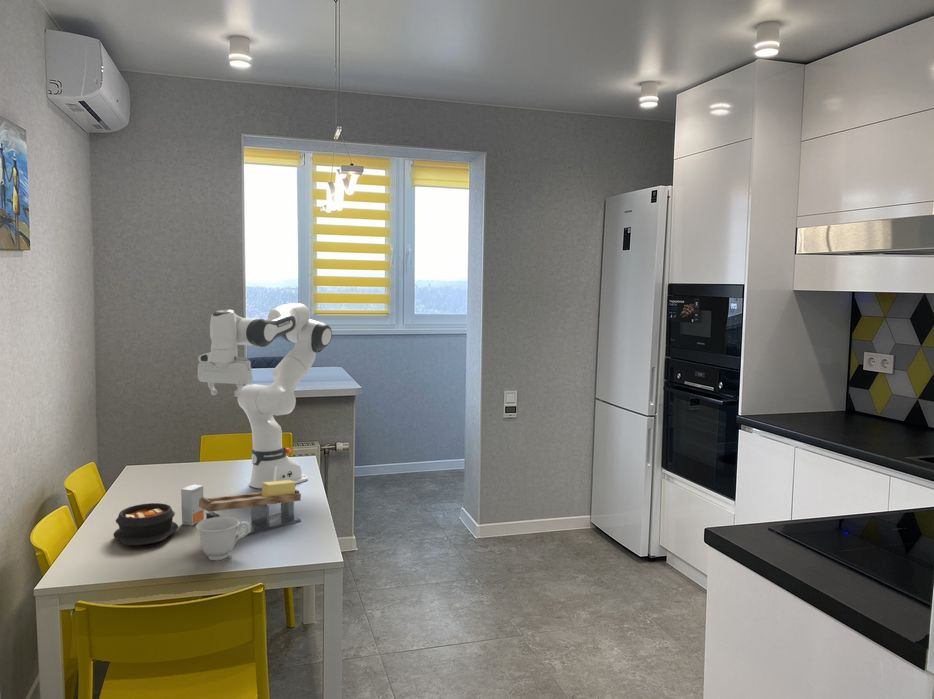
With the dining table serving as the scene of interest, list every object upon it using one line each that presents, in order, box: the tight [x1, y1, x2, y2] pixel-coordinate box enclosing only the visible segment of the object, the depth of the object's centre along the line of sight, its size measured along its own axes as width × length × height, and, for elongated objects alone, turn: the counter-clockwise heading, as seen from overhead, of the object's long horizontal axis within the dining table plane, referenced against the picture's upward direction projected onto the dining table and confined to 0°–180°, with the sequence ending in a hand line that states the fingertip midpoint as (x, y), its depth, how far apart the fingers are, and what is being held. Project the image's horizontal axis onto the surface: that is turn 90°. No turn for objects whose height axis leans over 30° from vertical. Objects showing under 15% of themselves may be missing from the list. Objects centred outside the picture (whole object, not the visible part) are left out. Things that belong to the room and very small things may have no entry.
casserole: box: [113, 502, 179, 546], centre depth 225 cm, size 25×19×8 cm
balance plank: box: [199, 488, 302, 512], centre depth 231 cm, size 32×7×3 cm, turn 135°
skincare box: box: [180, 484, 205, 526], centre depth 237 cm, size 6×4×12 cm
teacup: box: [195, 516, 250, 561], centre depth 209 cm, size 12×15×10 cm
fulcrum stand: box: [205, 501, 302, 538], centre depth 232 cm, size 30×10×8 cm, turn 135°
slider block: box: [261, 480, 296, 497], centre depth 238 cm, size 10×4×4 cm, turn 135°
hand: (225, 395), depth 251 cm, fingers open, 8 cm apart
